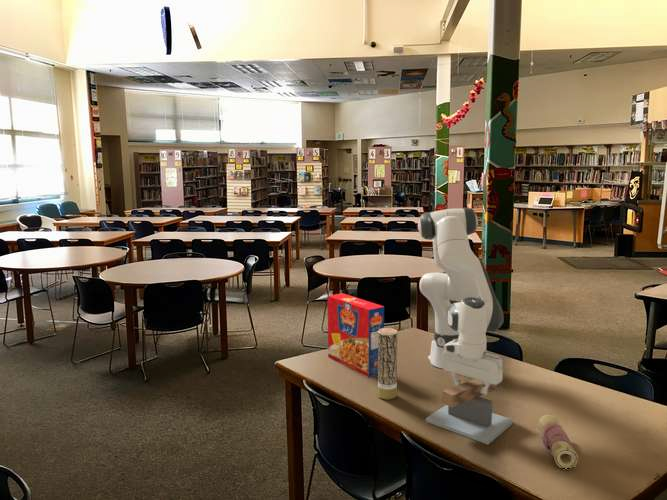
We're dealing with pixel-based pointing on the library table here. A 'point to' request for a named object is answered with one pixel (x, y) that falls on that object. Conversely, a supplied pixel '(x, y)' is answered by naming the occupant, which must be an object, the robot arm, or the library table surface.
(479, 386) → the light brown wooden bar
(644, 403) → the library table surface
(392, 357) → the bark cylinder
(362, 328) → the pasta box
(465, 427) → the ridge stand
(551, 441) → the scroll
